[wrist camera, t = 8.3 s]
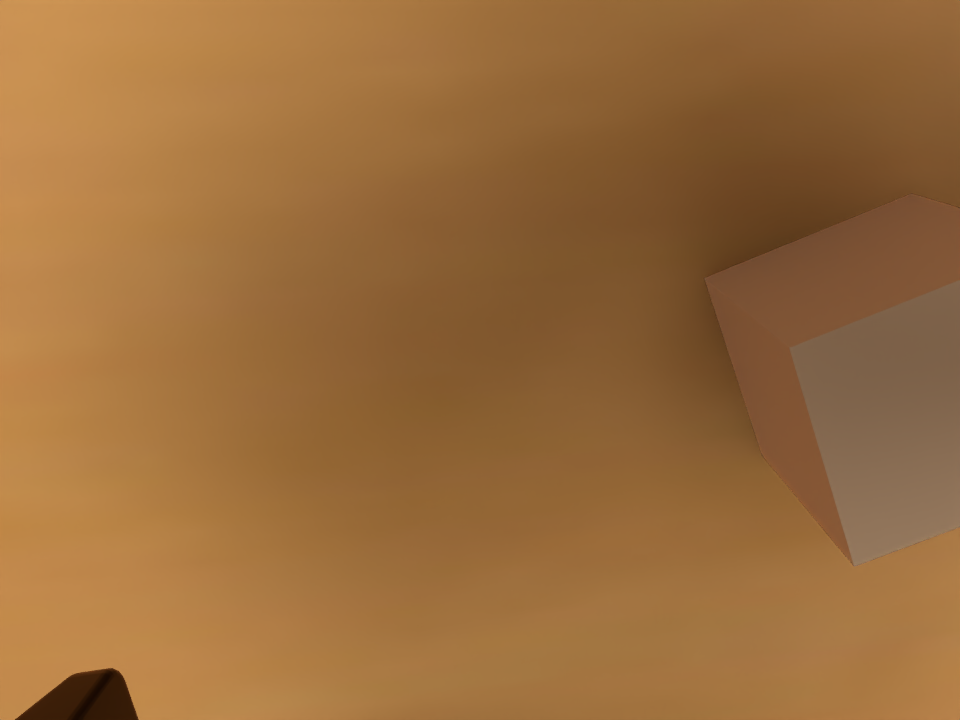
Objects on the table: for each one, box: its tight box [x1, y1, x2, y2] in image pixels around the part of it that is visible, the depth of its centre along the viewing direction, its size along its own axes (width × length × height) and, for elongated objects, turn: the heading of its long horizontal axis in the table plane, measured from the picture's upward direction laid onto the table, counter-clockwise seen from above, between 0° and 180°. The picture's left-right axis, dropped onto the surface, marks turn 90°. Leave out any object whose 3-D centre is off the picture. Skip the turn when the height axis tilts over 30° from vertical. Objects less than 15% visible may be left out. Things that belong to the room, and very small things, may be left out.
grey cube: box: [704, 193, 960, 567], centre depth 18 cm, size 5×5×5 cm
